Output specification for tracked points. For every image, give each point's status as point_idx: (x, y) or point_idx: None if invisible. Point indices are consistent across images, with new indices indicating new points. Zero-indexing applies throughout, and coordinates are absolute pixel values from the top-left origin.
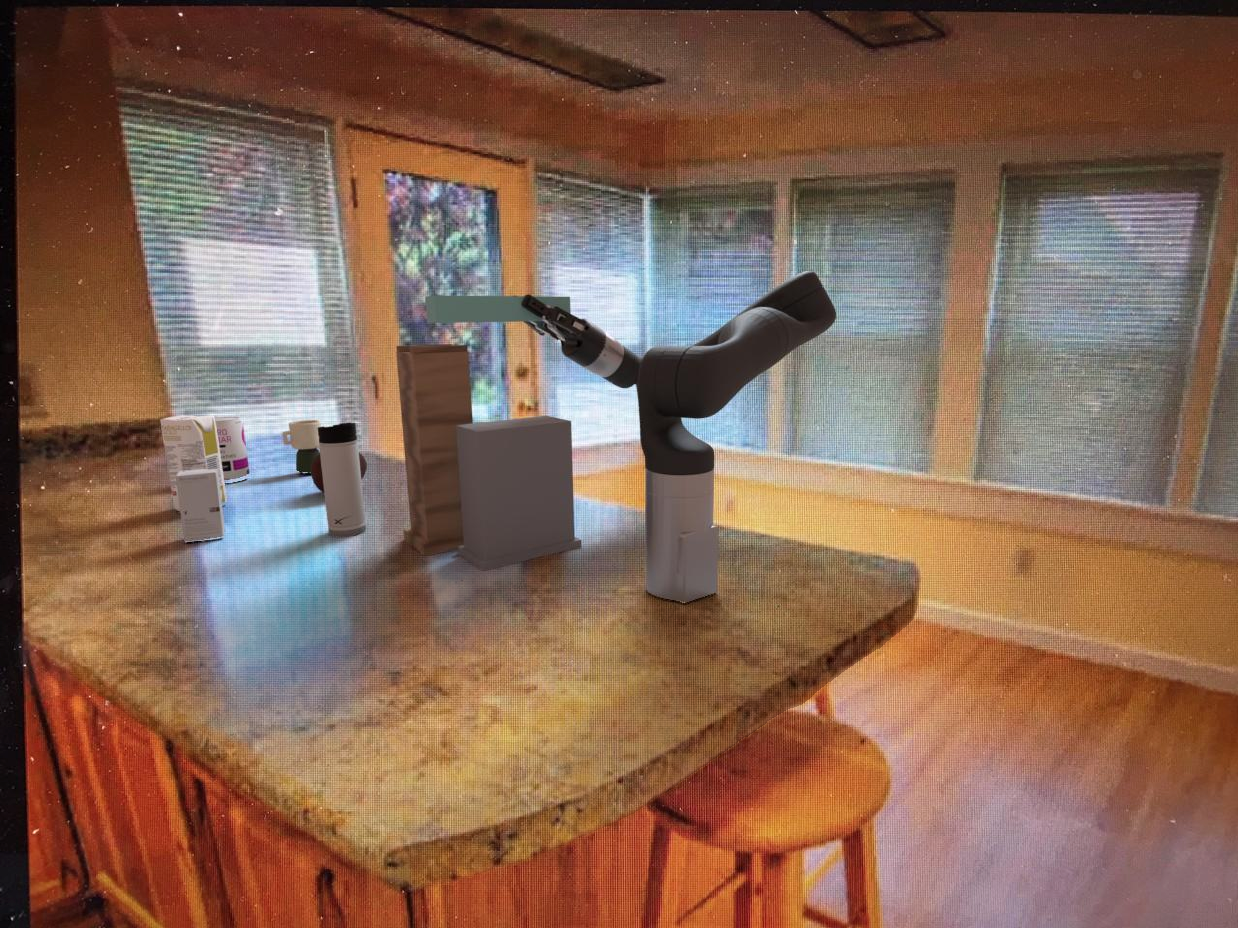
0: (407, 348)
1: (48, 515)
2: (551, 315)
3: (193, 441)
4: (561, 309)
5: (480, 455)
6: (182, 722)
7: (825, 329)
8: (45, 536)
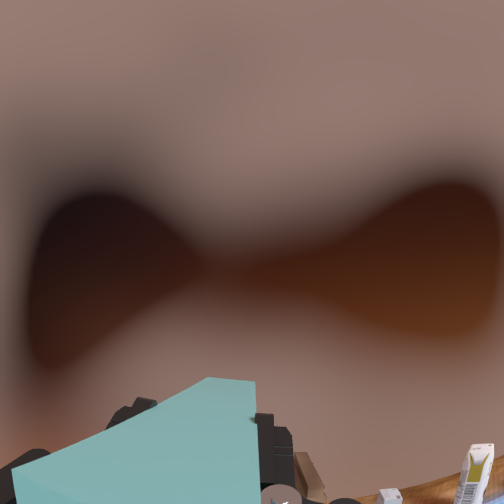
0: (295, 460)
1: (457, 476)
2: None
3: (464, 468)
4: (16, 460)
5: None
6: None
7: None
8: (413, 488)
